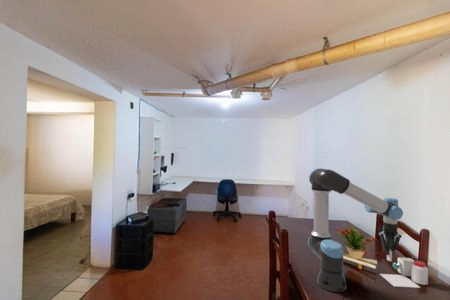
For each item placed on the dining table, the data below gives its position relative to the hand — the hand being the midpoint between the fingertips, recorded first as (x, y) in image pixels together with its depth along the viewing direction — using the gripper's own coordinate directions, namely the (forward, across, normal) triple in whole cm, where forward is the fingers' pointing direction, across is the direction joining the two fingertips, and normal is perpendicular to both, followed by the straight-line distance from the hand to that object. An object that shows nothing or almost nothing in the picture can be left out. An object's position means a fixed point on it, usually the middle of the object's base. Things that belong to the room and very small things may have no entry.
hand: (389, 260), depth 152 cm
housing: (+8, +11, 0) cm, 13 cm away
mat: (+8, 0, -10) cm, 13 cm away
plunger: (+5, +8, 0) cm, 10 cm away
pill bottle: (+8, +12, -9) cm, 17 cm away
